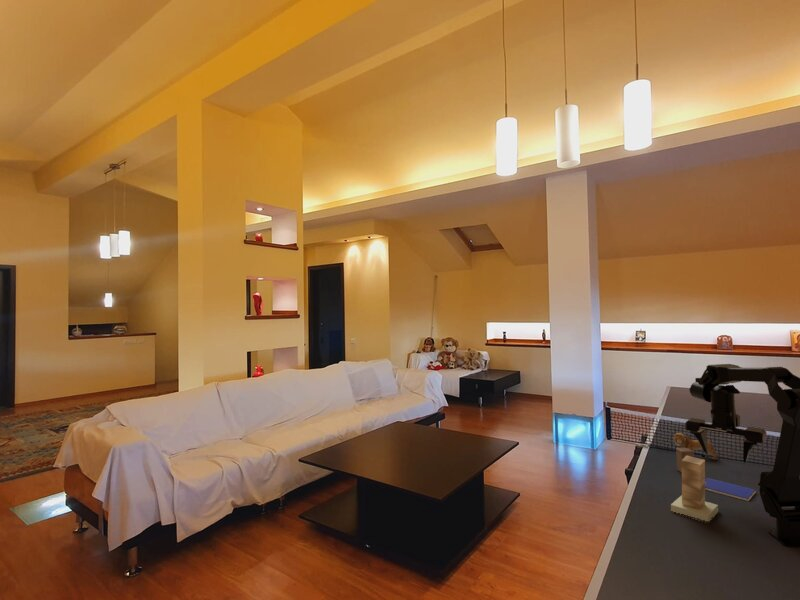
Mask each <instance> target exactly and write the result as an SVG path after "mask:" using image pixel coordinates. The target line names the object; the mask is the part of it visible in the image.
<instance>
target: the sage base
mask: <svg viewBox="0 0 800 600" xmlns="http://www.w3.org/2000/svg"><path fill="white" fill-rule="evenodd" d="M671 511H673V512H672V513H674V512H676V513H675V514H678V513H680V514H679V515H681V514H684V515H688V516H691V517H695V518H699V519H701V520H705V521H710V520H711V521H712V519H713V518H715V516H716V515H717V514H718V513H719V505H718V504H715V503H713V502H709V501H706V500H705V505H704V506H703V508H702V509H701V510H698V509H695V508H692V507H689V506H686V505H683V504H682V494H681V495H680V496H679V497H677V498H676V499H675V500H674V501H673V502H672V503H670V512H671ZM684 515H683V516H684ZM712 517H713V518H712ZM711 518H712V519H711ZM711 521H710V522H711Z"/></svg>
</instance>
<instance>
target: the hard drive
mask: <svg viewBox="0 0 800 600" xmlns="http://www.w3.org/2000/svg"><path fill="white" fill-rule="evenodd" d="M705 491H709V492H712V493H716V494H720V495H724V496H728V497H732V498H736V499H739V500H743V501H746V502H749V501H750V500H751V499H752V497H753V496H754V495H755V494H756V489H753V488H749V487H745V486H740V485H738V484H733V483H729V482H725V481H721V480H718V479H715V478H709V477H707V478H705Z"/></svg>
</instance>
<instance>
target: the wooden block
mask: <svg viewBox="0 0 800 600" xmlns="http://www.w3.org/2000/svg"><path fill="white" fill-rule="evenodd" d="M675 451H676V452H675V453H676V469H677V471H678V472H680V473H681V474H682V459H683V458H684V457H686V456H691V457H695V453H694V450H693V449H691V450H690V449H688V448H680V447H676V449H675Z"/></svg>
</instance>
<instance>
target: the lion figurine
mask: <svg viewBox="0 0 800 600" xmlns="http://www.w3.org/2000/svg"><path fill="white" fill-rule="evenodd" d="M673 442H674V444H675V445H676V446H678V448H688V449H690V450H692V451H694V450H695V451H698V450H703V448H702V446H701V444H700V443H699V441H698V440H696V439H692V438H691V437H690V436H687V435H685V434H684V433H681V432H677V433H675V434H674V435H673ZM707 443H708V455H709V454H710V455H711V456H712V457H711V458H712V459H716V460H717V458H719V457H718V456H719V455H718V454H717V452H716V450H715V447H714V445H713V444H712V443H711V441H709V440H707ZM703 454H705V452H704V453H703ZM705 455H706V454H705ZM706 456H707V455H706ZM712 459H711V460H712Z"/></svg>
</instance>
